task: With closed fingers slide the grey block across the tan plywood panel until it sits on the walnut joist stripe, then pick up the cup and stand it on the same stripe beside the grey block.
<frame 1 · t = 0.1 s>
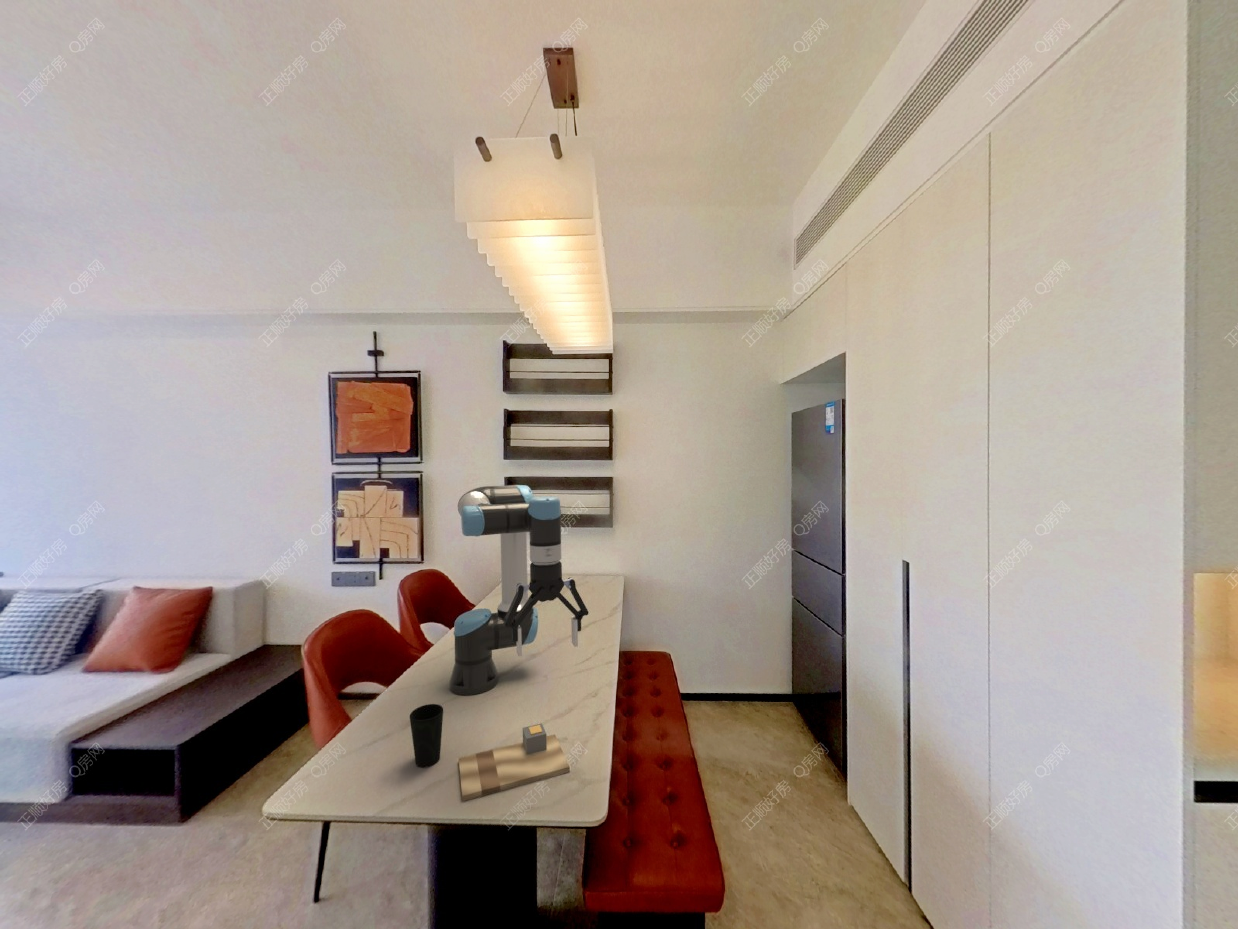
hand: (547, 649, 114), 28 cm above the table, fingers open, 13 cm apart
grey block: (534, 746, 119), point 1 cm above the table, touching panel
cup: (427, 761, 116), on the table
panel: (513, 767, 113), on the table
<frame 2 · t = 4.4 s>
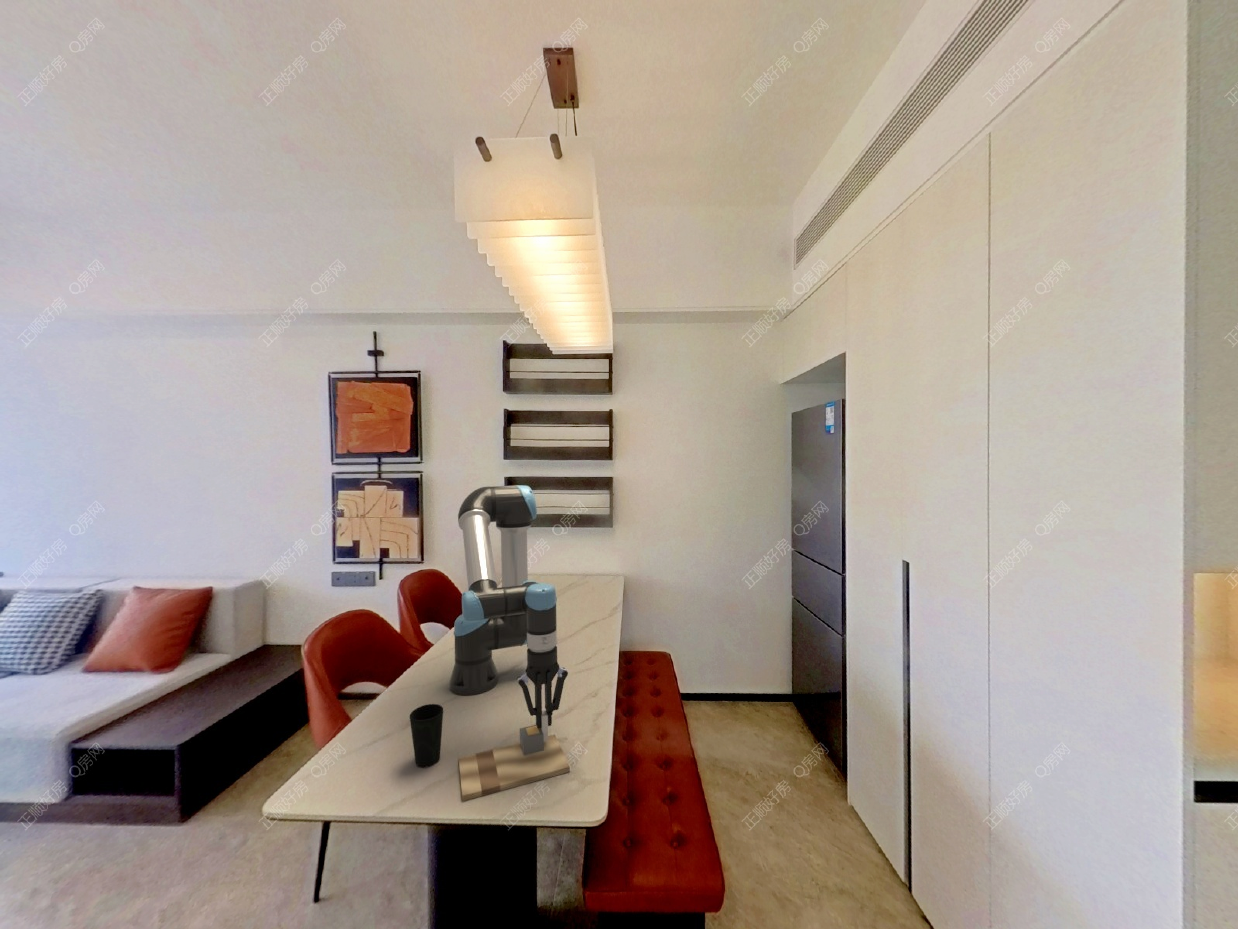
hand: (544, 738, 120), 3 cm above the table, fingers closed
grey block: (531, 747, 119), point 1 cm above the table, touching gripper
everything else where it was.
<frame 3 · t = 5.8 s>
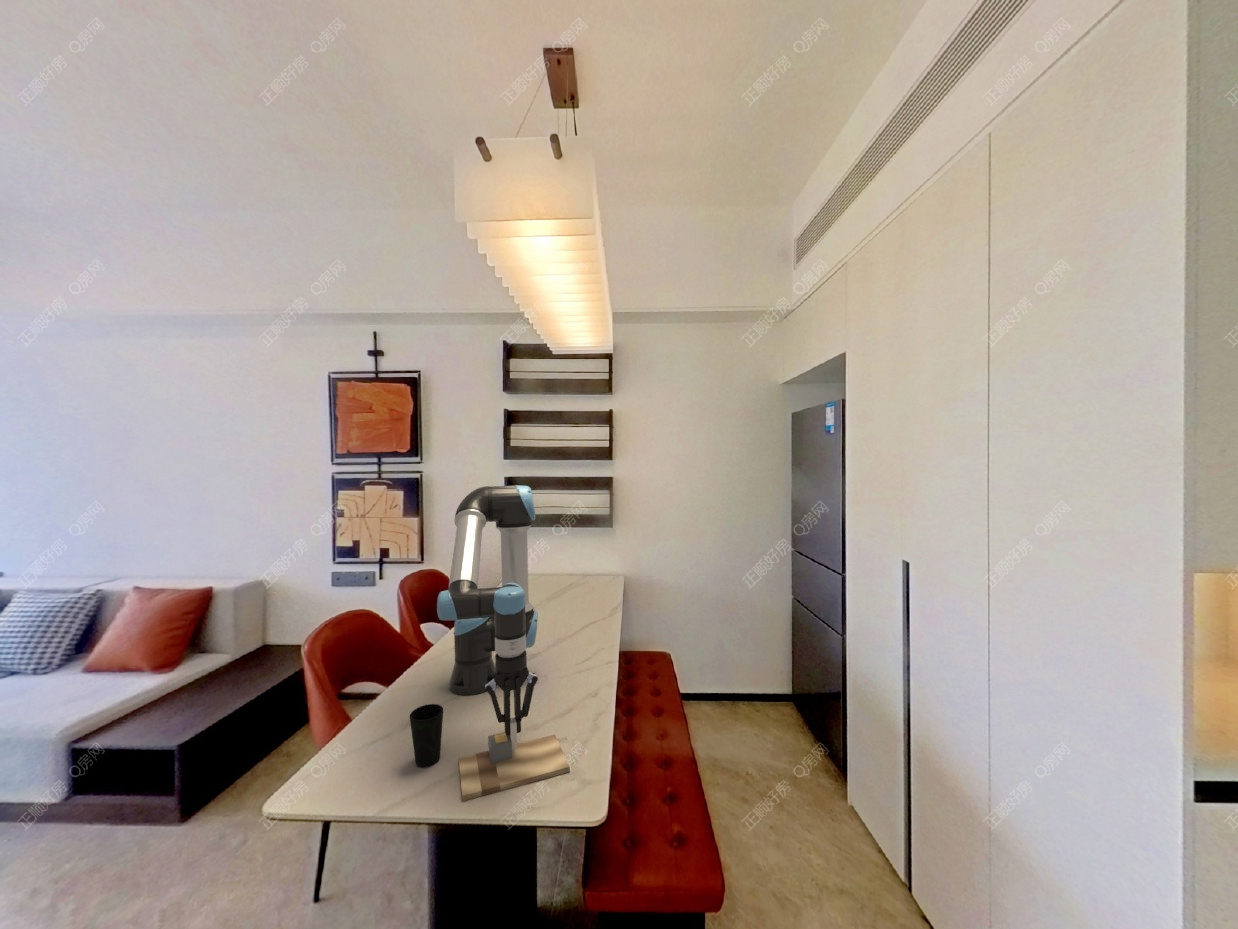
hand: (513, 746, 117), 3 cm above the table, fingers closed
grey block: (500, 755, 116), point 1 cm above the table, touching gripper
everything else where it was.
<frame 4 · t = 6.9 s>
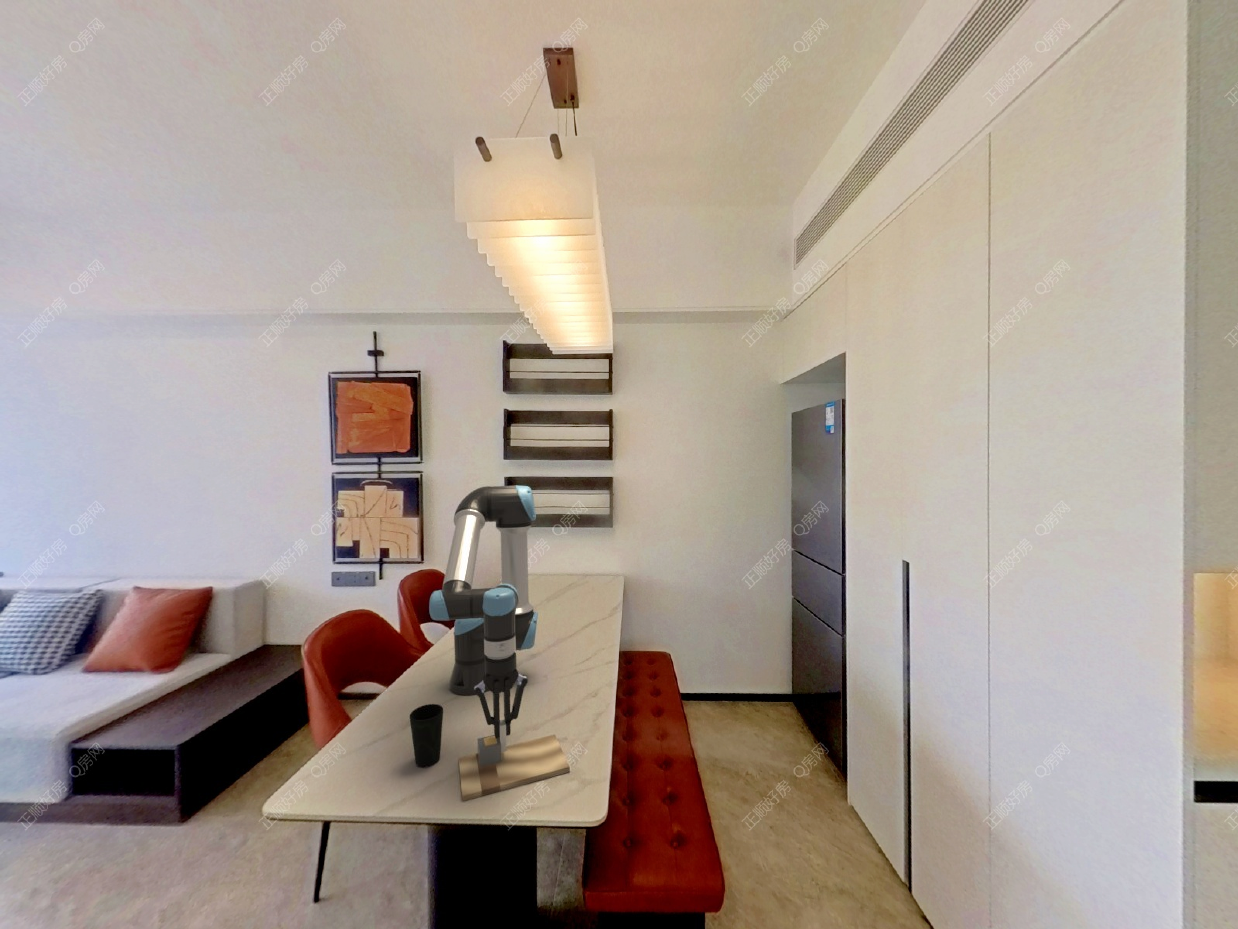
hand: (502, 748, 116), 3 cm above the table, fingers closed
grey block: (489, 758, 115), point 1 cm above the table, touching gripper, panel
everything else where it was.
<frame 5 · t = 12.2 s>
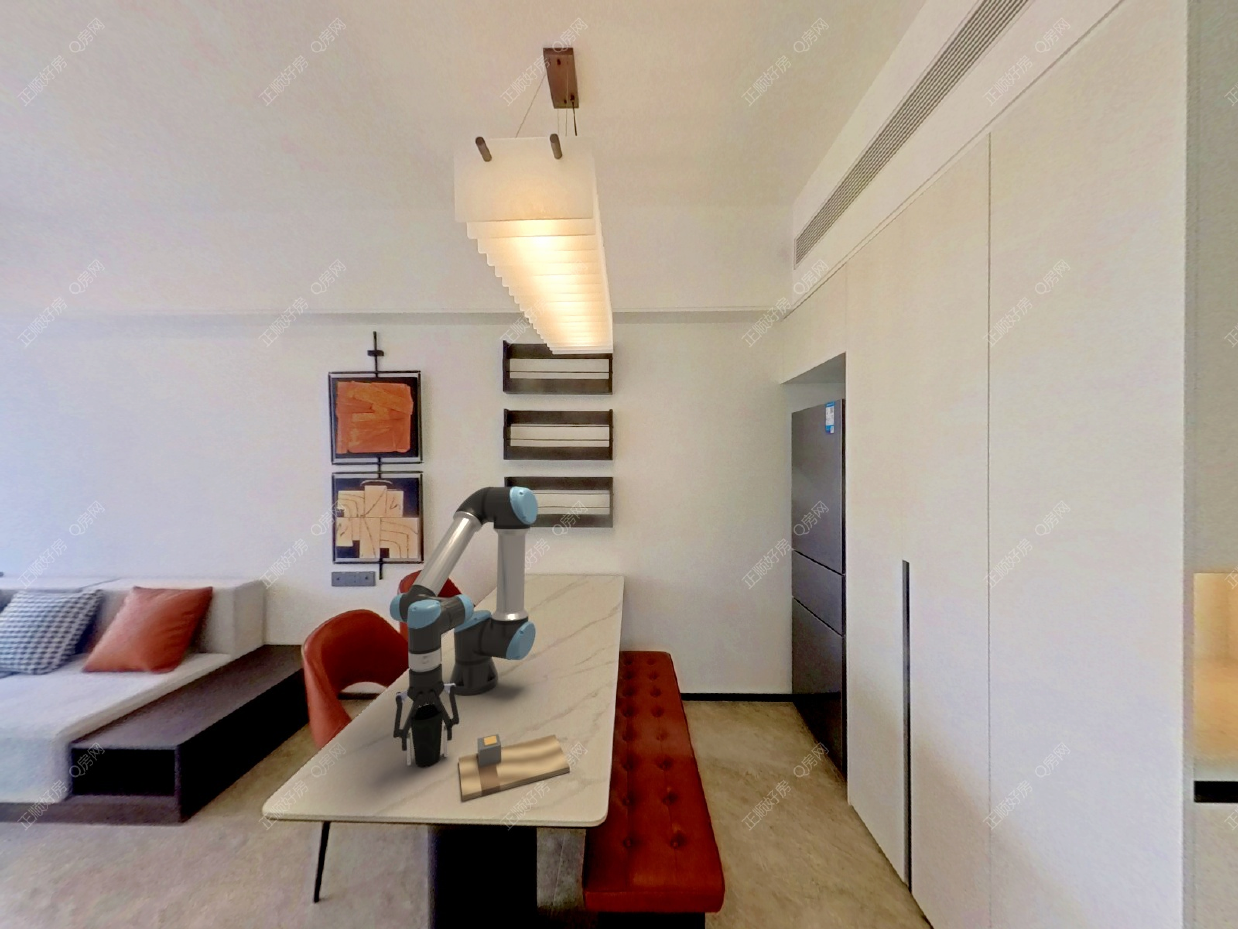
hand: (427, 757, 116), 1 cm above the table, fingers closed on cup, 8 cm apart
grey block: (489, 758, 115), point 1 cm above the table, touching panel
cup: (427, 761, 116), on the table, touching gripper
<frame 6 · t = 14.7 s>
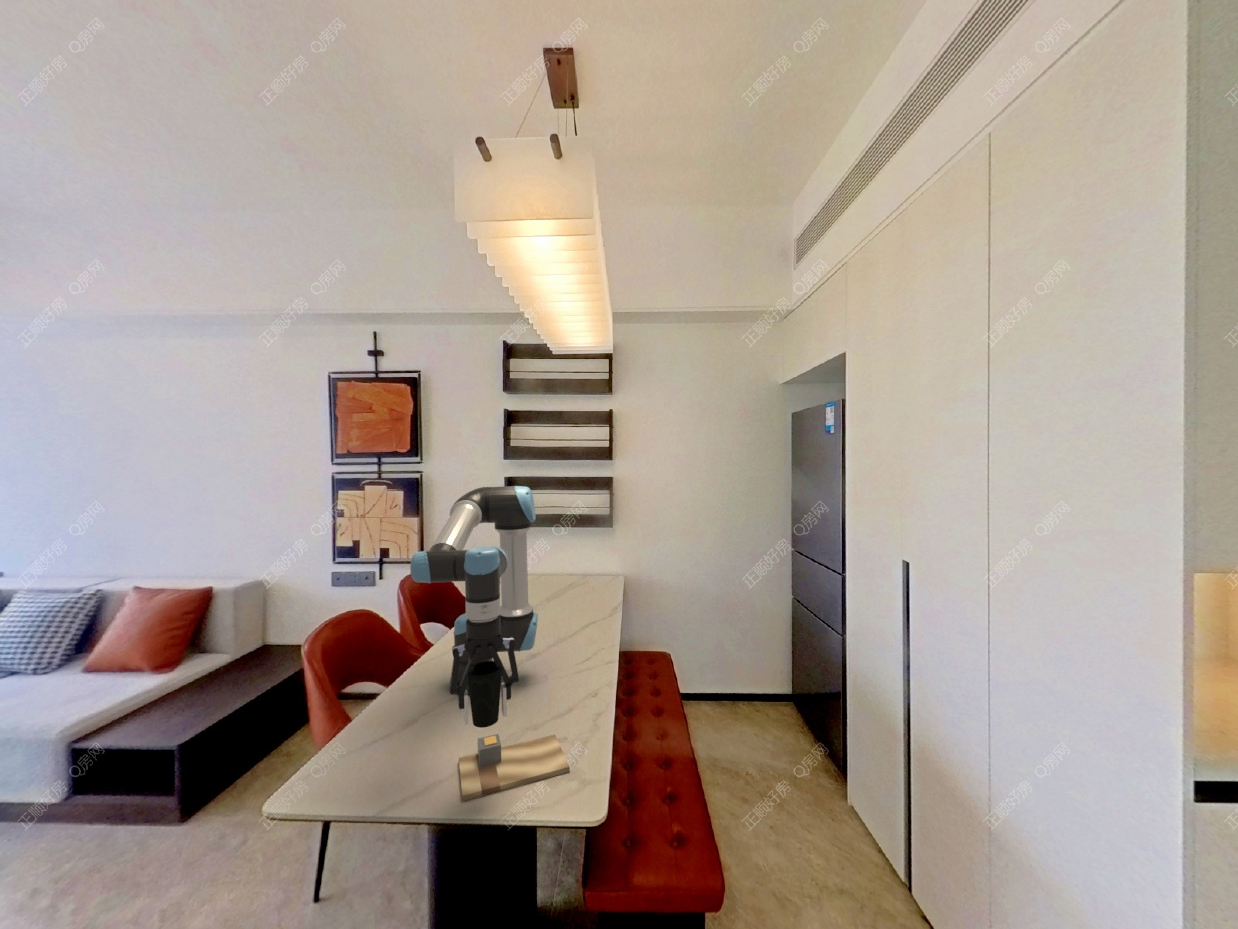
hand: (485, 717, 107), 15 cm above the table, fingers closed on cup, 8 cm apart
cup: (485, 721, 107), point 15 cm above the table, touching gripper
everything else where it was.
when the fingers open (4 cm above the table, at t = 17.3 s): cup drops 2 cm, resting on panel.
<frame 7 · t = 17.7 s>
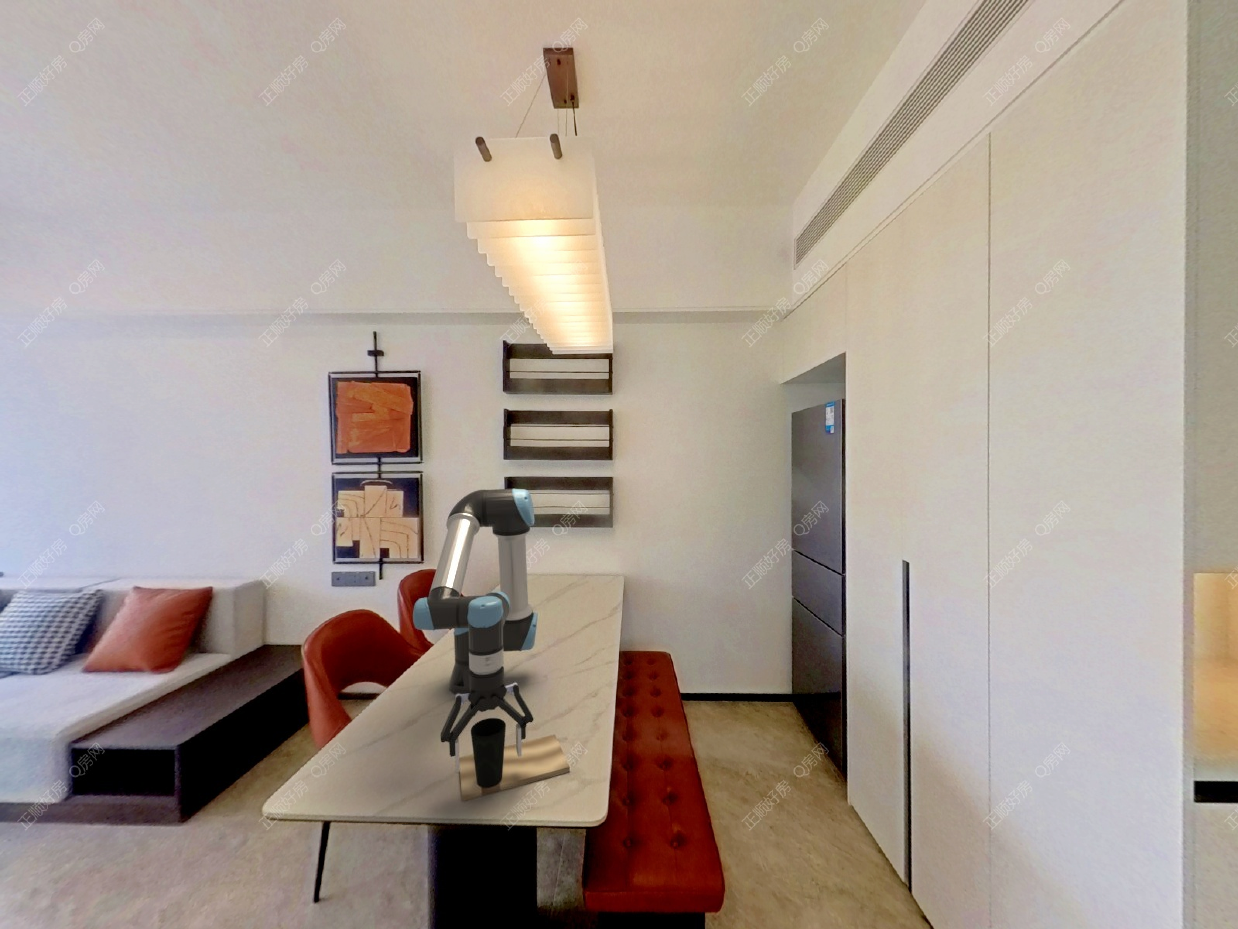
hand: (488, 761, 107), 5 cm above the table, fingers open, 13 cm apart
cup: (489, 780, 107), point 1 cm above the table, touching panel
everything else where it was.
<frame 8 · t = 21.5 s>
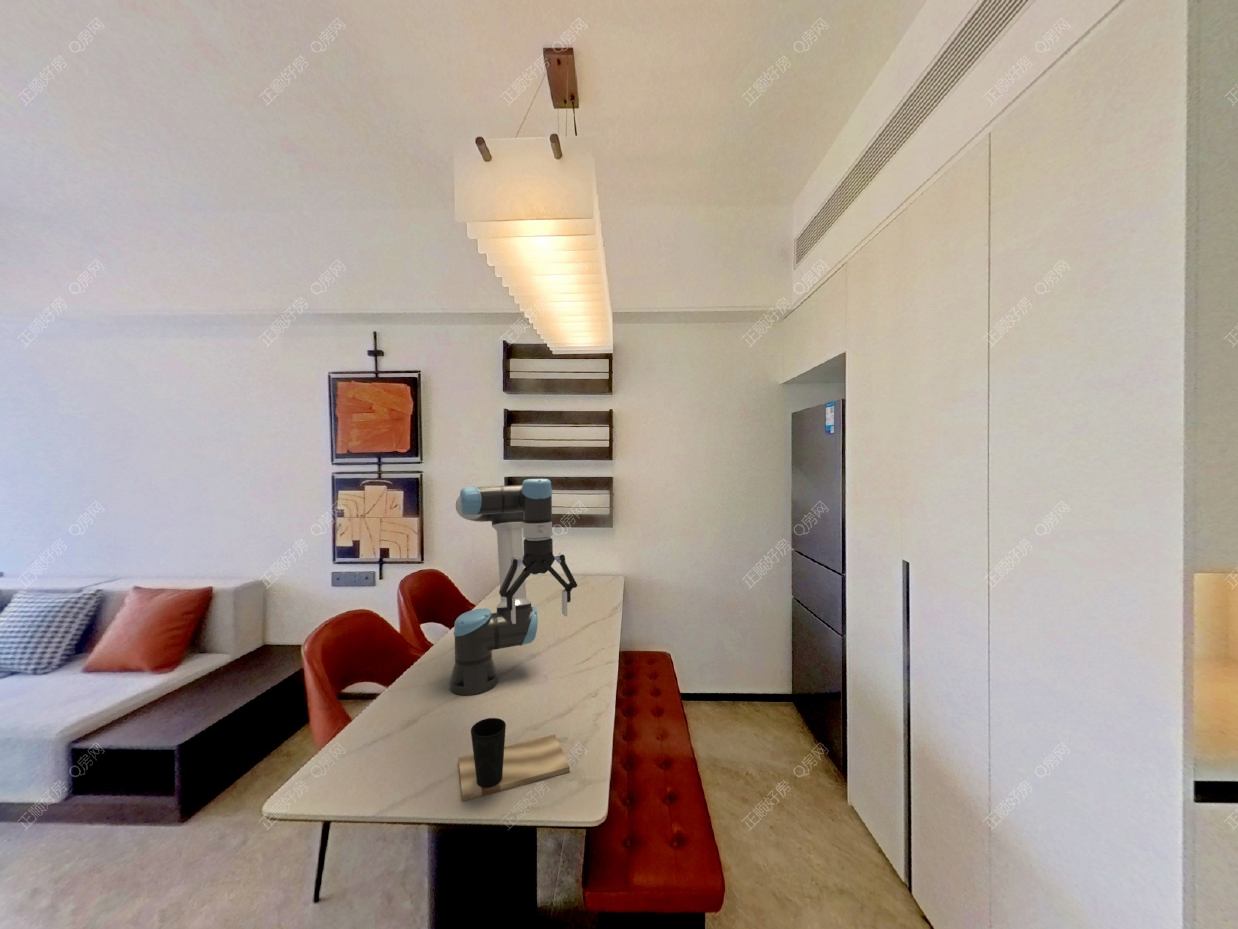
hand: (539, 618, 124), 32 cm above the table, fingers open, 13 cm apart
nothing on the table moved.
at the end: grey block inside the target area (0.9 cm from its centre), point 1.2 cm above the table; cup inside the target area (0.3 cm from its centre), point 1.0 cm above the table; cup tilted 0° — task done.
